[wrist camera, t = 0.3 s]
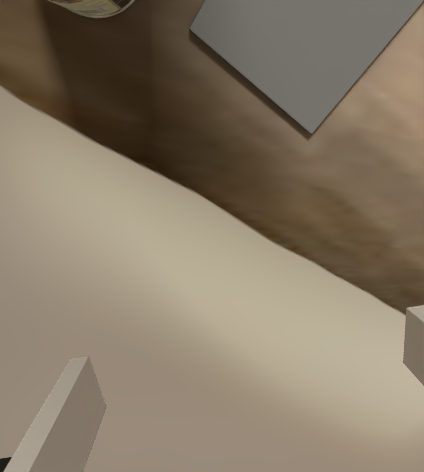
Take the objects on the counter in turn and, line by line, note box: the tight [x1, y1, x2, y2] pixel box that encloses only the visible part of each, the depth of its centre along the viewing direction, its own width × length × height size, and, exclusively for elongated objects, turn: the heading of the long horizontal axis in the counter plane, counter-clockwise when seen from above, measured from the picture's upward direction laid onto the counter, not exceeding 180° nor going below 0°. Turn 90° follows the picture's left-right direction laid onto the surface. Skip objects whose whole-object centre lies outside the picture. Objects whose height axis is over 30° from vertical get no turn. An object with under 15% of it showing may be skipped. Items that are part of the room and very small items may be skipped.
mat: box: [189, 0, 424, 134], centre depth 27 cm, size 16×16×1 cm
